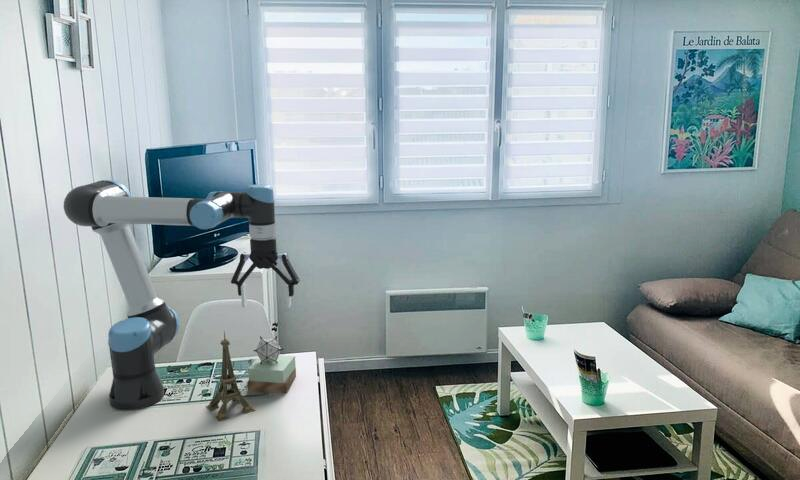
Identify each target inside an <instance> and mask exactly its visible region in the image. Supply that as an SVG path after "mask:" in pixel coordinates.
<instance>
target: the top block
mask: <svg viewBox="0 0 800 480" xmlns="http://www.w3.org/2000/svg"><path fill="white" fill-rule="evenodd" d="M260 362H261V360H260V358H259V356H258V357H257V358H256V359H255V360H254V362H253V363H252V364H250V366H249V367H248V370H247V372H248V380H249V381H259V382H274V383H284V382H285V381H286V380H287V378H288V377H289V376H290V374H291V373H292V372H293V371H294V369H295V368H296V367H297V366H296V356H295V355H285V354H279V356H278V358H277V362H278V364H277V363H276V362H262V364H260Z"/></svg>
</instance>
